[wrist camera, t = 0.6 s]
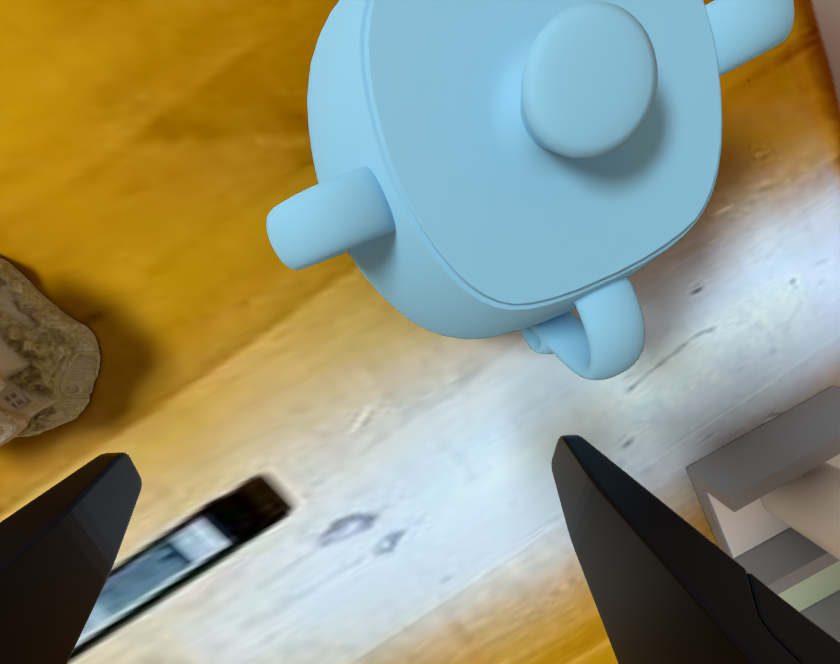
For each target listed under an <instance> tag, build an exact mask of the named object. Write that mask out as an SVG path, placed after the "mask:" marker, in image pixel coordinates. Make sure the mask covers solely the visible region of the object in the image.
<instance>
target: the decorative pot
mask: <svg viewBox="0 0 840 664" xmlns="http://www.w3.org/2000/svg"><path fill="white" fill-rule="evenodd" d="M793 21H794V3H793V0H714V1H712V2H711V3H709V4H707V5H705V4H704V1H703V0H340V1H339V2H338V3H337V5H336V6H335V7H334V9H333V10H332V11H331V13H330V15H329V17H328V19H327V21H326V23H325V25H324V27H323V29H322V31H321V34H320V36H319V39H318V41H317V45H316V48H315V51H314V55H313V58H312V61H311V66H310V76H309V85H308V95H307V104H308V124H309V133H310V141H311V148H312V155H313V161H314V166H315V170H316V175H317V179H318V184H317V185H315V186H312V187H310V188H308V189H306V190H304V191H302V192H300V193H298V194H296V195H294V196H292V197H290V198H289V199H287V200H285V201H283V202H282V203H280V204H279V205H277V206H276V207H274V208H273V209H272V210H271V211H270V213H269V214H268V217H267V225H266V227H267V233H268V236H269V240H270V242H271V245H272V247H273V249H274V251H275V252H276V254H277V255H278V257H279V258H280V260H281V261H282V262H283V263H284V264H285V265H286V266H288V267H289V268H291V269H293V270H300V269H303V268H306V267H309V266H312V265H314V264H317V263H320V262H322V261H325V260H327V259H330V258H333V257H335V256H338V255H341V254H343V253H345V252H348V253H349V255H350V256H351V258H352V259H353V261H354V262H355V264H356V265H357V267H358V268H359V269H360V271H361V272H362V274H363V275H364V276H365V277H366V278H367V280H368V281H369V282H370V283H371V284H372V285H373V287H374V288H375V289H376V290H377V291H378V292H379V293H380V294H381V295H382V296H383V297H384V298H385V299H386V300H387V301H388V302H389V303H390V304H391V305H392V306H393V307H394V308H396V309H397V310H398V311H399V312H400V313H401V314H403V315H404V316H405V317H406V318H407V319H409V320H410V321H412V322H414V323H415V324H417V325H419V326H421V327H422V328H424V329H426V330H428V331H431V332H434V333H437V334H440V335H443V336H448V337H454V338H461V339H481V338H489V337H494V336H498V335H502V334H505V333H509V332H513V331H517V330H520V329H521V332H522V334H523V336H524V338H525V340H526V342H527V343H528V345H529V346H530V347H531V348H532V349H533V350H534V351H535V352H537V353H540V354H552V353H554V354H555V355H556V356H557V357H558V358H559V359H560V360H561V361H562V362H563V363H564V364H565V365H566V366H567V367H568V368H570V369H571V370H572V371H573V372H575V373H576V374H578V375H579V376H581V377H583V378H586V379H590V380H603V379H608V378H611V377H614V376H616V375H618V374H620V373H622V372H624V371H626V370H627V369H629V368H630V367H631V366H632V365H633V364H634V363H635V362H636V361H637V360H638V359H639V357H640V355H641V353H642V350H643V347H644V340H645V327H644V319H643V314H642V310H641V307H640V304H639V301H638V298H637V295H636V293H635V291H634V288H633V286H632V283H631V282H630V280H629V279H628V277H629V276H631V275H632V274H634V273H635V272H636V271H638V270H639V269H641V268H642V267H644V266H645V265H646V264H648V263H649V262H651V261H652V260H654V259H655V258H656V257H658V256H659V255H661V254H662V253H664V252H665V251H666V250H668V249H669V248H671V247H672V246H673V245H674V244H675V243H676V242H677V241H678V240H679V239H681V238H682V237H683V236H684V235H685V234H686V233H687V232H688V230H689V229H690V228H691V227H692V226H693V225H694V224H695V223H696V222H697V220H698V219H699V217H700V216H701V214H702V213H703V211H704V210H705V208H706V206H707V204H708V201H709V199H710V197H711V195H712V193H713V189H714V186H715V182H716V178H717V175H718V170H719V163H720V156H721V146H722V104H721V88H720V79H719V76H721V75H723V74H725V73H727V72H729V71H731V70H733V69H735V68H736V67H738V66H740V65H742V64H744V63H746V62H748V61H750V60H752V59H753V58H755V57H757V56H759V55H761V54H763V53H765V52H766V51H768V50H770V49H772V48H774V47H775V46H777V45H779V44H781V43H782V42H783V41H785V40H786V38H787V37H788V36H789V34H790V32H791V29H792V26H793ZM574 308H577V310H578V313H579V316H580V318H581V321H582V322H581V321H580V320H579V319H578V318H577V317H575V316H574V315H573V314H572V313H571V312H570V310H572V309H574Z"/></svg>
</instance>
